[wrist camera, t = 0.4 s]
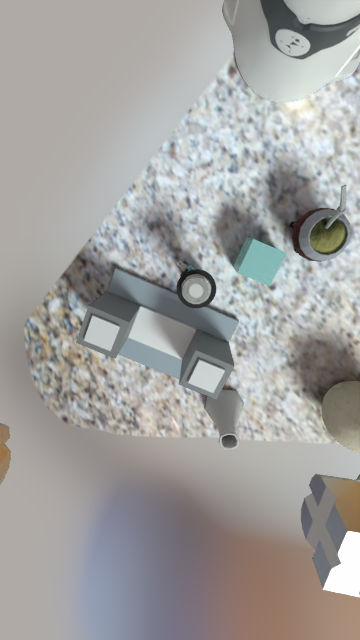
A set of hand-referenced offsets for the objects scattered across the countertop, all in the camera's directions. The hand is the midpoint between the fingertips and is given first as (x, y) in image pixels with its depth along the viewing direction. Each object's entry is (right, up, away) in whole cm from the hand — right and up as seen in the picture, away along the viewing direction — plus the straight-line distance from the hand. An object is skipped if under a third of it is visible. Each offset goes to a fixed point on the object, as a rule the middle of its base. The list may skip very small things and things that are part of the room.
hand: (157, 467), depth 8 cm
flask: (+9, -12, +49) cm, 51 cm away
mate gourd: (+20, +18, +39) cm, 47 cm away
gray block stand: (-2, +2, +45) cm, 45 cm away
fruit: (+30, -9, +47) cm, 56 cm away
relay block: (+12, +12, +35) cm, 39 cm away
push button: (+3, +11, +42) cm, 43 cm away
